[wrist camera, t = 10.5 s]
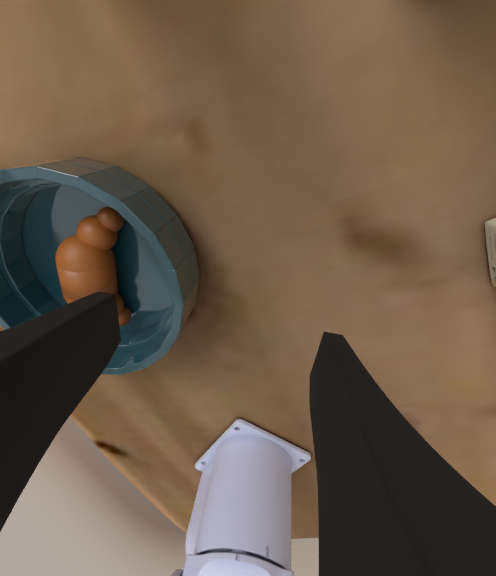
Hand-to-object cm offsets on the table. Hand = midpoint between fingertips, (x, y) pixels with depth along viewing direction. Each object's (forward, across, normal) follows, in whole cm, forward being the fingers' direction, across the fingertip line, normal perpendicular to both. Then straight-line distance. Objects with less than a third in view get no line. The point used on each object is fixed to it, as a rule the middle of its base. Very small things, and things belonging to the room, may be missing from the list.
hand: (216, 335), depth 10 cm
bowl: (+9, +10, +3) cm, 14 cm away
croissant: (+9, +10, +3) cm, 13 cm away
